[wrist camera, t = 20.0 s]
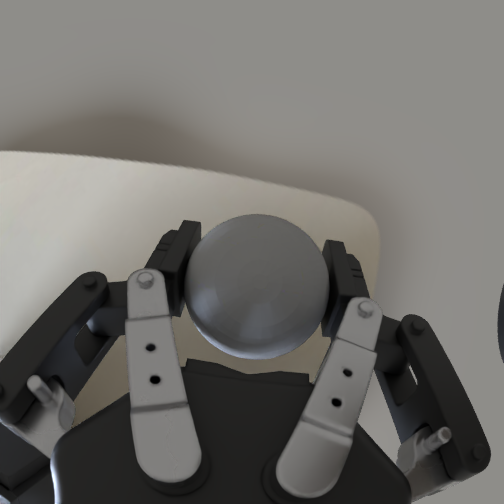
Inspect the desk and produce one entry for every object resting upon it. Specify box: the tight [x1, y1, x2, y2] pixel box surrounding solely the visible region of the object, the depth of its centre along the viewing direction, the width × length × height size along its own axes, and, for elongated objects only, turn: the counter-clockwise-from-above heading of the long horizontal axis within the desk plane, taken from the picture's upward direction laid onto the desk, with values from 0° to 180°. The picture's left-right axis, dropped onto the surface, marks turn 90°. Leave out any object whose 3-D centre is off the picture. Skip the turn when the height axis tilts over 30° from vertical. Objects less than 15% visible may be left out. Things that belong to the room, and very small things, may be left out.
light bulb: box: [184, 214, 330, 360], centre depth 14 cm, size 6×5×10 cm
